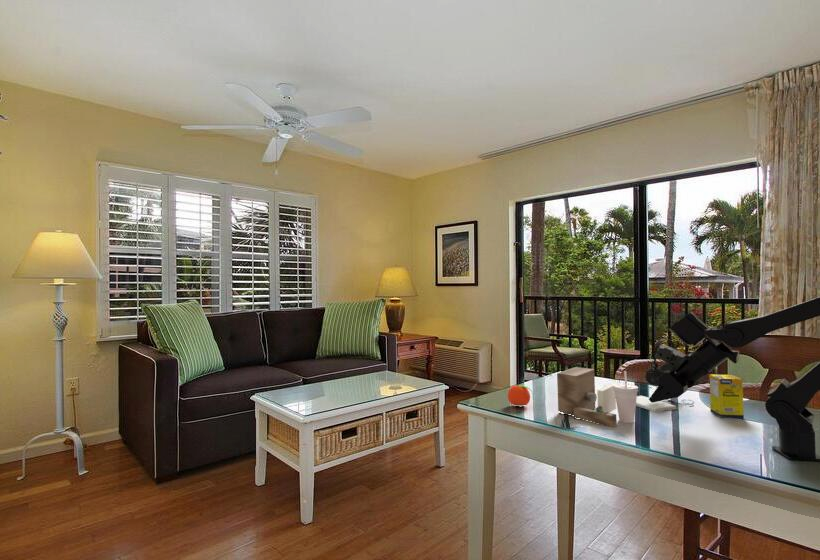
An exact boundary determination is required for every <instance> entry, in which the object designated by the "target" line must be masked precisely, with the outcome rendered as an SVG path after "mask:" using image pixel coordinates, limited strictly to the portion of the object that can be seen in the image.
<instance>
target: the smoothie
mask: <svg viewBox="0 0 820 560" xmlns="http://www.w3.org/2000/svg"><path fill="white" fill-rule="evenodd" d="M627 372H628V371H627V370H624V372H623V375H624V383H615V384H612V385H613V390H614V391H615V397H616V409H617V415H618V419H619V420H618V421H619V422H621V423H625V424H634V423H635V416H636V409H637V406H636V399H637V396H638V392H639V386H637V385H635V384H630V383H629V384H628V378H627Z"/></svg>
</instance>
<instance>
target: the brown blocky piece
mask: <svg viewBox="0 0 820 560" xmlns="http://www.w3.org/2000/svg"><path fill="white" fill-rule="evenodd" d="M556 377H557V378H556V380H557V382H556V383H557V384H556V385H557V411H560V412H563V413H567V414H571V415H574V417H576V418H580V419H584V420H588V421H592V422H595V423H594V424H596V423H599V424H598V425H601V424H603V425H602V426H605V425H606V427H610V428H615V427H617V425H618V423H617V414H616V413H611V412H610V413H608V412H602V411H600V410H596V401H597V400H598V395H597V393H596V385H595V384H596V383H595V369H593V368H586V367H579V366H578V367H577V366H574V367H572V368H569V369H566V370H563V371H560V372H557V373H556ZM594 408H595V409H594ZM592 409H594V410H592ZM574 417H573V418H574Z"/></svg>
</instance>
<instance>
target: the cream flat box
mask: <svg viewBox="0 0 820 560" xmlns="http://www.w3.org/2000/svg"><path fill="white" fill-rule="evenodd" d="M613 385H614V384H611V383H610V384H607V385H606V386H603V387H601V388H599V389H597V393H596V395H597V407H595V410H600V411H602V412H608V413H611V412H613V411H615V410H616V409H617V403H616V397H615V391H614V390H613Z"/></svg>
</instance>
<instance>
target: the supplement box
mask: <svg viewBox="0 0 820 560" xmlns="http://www.w3.org/2000/svg"><path fill="white" fill-rule="evenodd" d="M708 377H709V402H710V404H709V405H710V412H711V413H713V414H715V415H717V417H718V416H719V417H720V418H737V419H744V418H745V417H744V415H745V414H744V413H745V412H744V387H743V385H744V383H743V381H744V380H743V378H740V377H738V376H735V375H733V374H716V373H715V374H714V373H713V374H712V373H711V374H709V375H708Z"/></svg>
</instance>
